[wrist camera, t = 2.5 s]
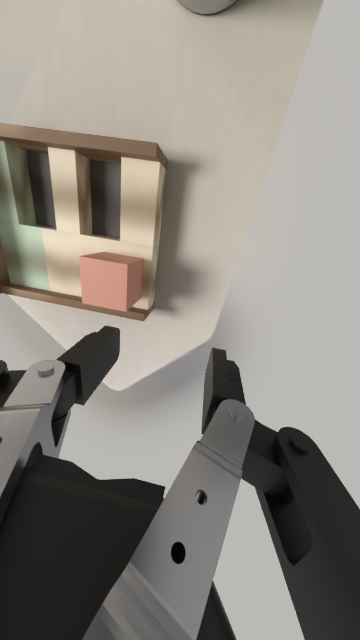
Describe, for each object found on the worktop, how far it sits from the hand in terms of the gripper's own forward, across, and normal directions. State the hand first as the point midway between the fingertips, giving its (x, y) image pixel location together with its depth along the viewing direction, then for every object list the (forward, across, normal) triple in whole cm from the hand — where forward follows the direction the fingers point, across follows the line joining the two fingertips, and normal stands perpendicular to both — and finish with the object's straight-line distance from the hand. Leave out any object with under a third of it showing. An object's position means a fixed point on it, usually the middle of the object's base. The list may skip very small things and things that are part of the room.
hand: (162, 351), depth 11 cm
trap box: (+17, +16, -4) cm, 24 cm away
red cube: (+14, +8, 0) cm, 17 cm away
